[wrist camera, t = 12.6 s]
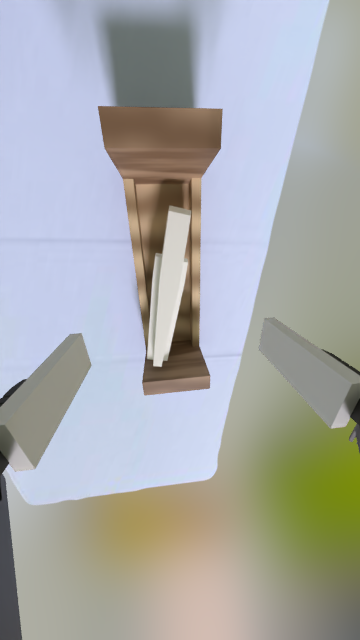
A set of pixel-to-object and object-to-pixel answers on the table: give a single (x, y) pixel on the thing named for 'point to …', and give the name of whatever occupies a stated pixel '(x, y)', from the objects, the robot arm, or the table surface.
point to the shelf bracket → (168, 284)
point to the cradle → (165, 217)
